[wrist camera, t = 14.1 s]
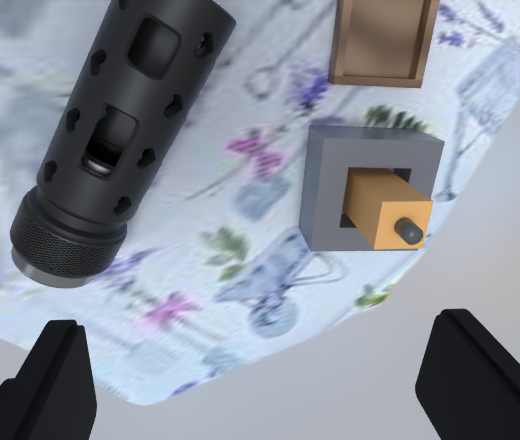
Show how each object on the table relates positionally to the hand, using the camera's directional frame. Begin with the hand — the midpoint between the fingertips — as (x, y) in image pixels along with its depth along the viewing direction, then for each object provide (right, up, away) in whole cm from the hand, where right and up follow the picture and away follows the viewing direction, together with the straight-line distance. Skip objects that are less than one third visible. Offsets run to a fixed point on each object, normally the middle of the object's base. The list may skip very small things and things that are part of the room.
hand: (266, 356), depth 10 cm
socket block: (+11, +8, +34) cm, 37 cm away
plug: (+11, +7, +32) cm, 35 cm away
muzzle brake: (-14, +13, +30) cm, 35 cm away
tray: (+12, +22, +28) cm, 38 cm away
